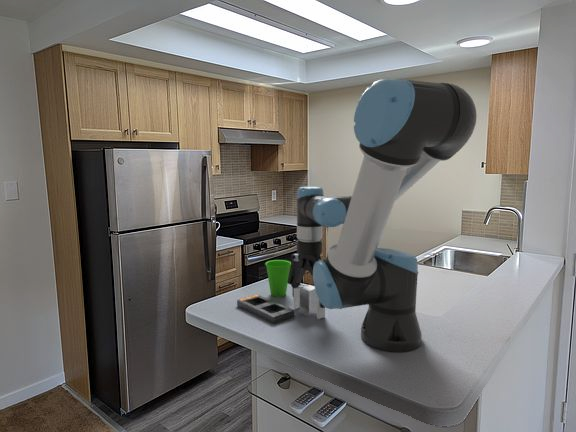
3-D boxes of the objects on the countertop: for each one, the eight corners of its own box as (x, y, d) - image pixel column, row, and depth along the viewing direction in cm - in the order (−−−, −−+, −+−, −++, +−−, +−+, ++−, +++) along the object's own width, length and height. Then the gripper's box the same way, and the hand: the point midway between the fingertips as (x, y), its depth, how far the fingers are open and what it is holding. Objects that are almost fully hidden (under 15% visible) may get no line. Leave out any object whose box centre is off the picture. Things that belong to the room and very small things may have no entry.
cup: (288, 299, 130) (288, 267, 128) (262, 297, 131) (261, 265, 130) (293, 291, 138) (293, 260, 137) (268, 289, 140) (268, 259, 139)
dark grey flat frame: (294, 316, 116) (294, 309, 115) (273, 323, 110) (273, 316, 110) (257, 300, 129) (257, 294, 129) (237, 306, 124) (237, 299, 123)
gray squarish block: (318, 313, 118) (318, 288, 117) (308, 317, 115) (309, 290, 114) (308, 309, 121) (309, 284, 120) (299, 313, 118) (299, 287, 117)
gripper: (347, 243, 109) (345, 320, 113) (293, 232, 126) (293, 299, 129) (328, 247, 104) (327, 327, 108) (275, 235, 121) (275, 305, 124)
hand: (308, 312), depth 118 cm, fingers open, 9 cm apart
